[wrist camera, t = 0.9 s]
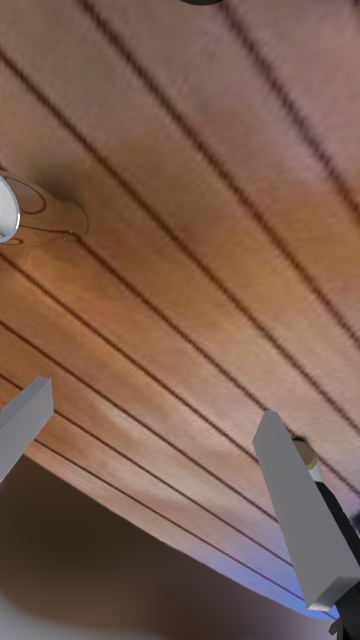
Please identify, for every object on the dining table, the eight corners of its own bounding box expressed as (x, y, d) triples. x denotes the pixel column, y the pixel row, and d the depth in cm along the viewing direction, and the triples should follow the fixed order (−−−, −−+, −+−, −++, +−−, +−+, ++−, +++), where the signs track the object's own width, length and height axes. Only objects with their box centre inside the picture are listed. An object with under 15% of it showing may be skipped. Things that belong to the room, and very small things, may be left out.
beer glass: (41, 229, 33) (-64, 219, 19) (55, 186, 31) (-50, 140, 17) (81, 253, 34) (10, 259, 20) (98, 213, 32) (31, 190, 18)
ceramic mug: (306, 434, 48) (327, 468, 40) (311, 458, 50) (331, 494, 43) (260, 444, 49) (272, 478, 42) (267, 466, 52) (280, 502, 45)
